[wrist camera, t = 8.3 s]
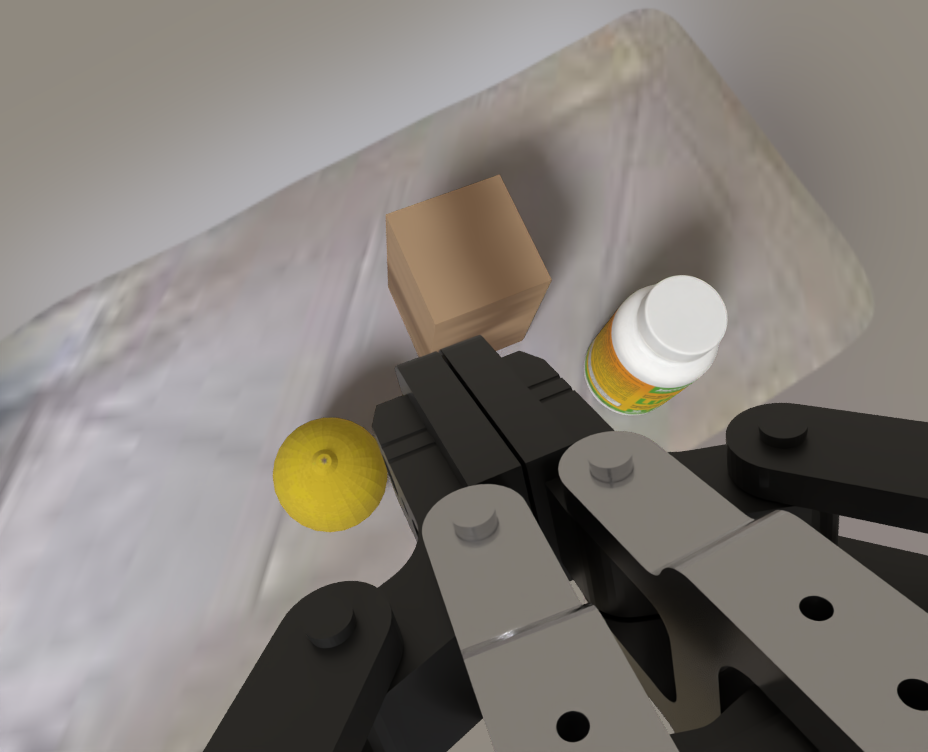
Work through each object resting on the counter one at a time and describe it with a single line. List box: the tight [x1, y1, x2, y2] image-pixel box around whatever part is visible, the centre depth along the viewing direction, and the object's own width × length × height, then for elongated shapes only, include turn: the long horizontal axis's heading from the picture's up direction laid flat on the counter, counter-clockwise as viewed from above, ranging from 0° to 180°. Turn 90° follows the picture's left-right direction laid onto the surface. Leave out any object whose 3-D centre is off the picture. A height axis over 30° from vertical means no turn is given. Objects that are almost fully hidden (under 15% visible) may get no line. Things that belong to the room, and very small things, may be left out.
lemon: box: [273, 418, 387, 532], centre depth 38 cm, size 6×6×8 cm
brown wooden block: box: [386, 174, 552, 357], centre depth 41 cm, size 6×6×9 cm
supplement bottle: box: [584, 275, 728, 415], centre depth 40 cm, size 5×5×10 cm
